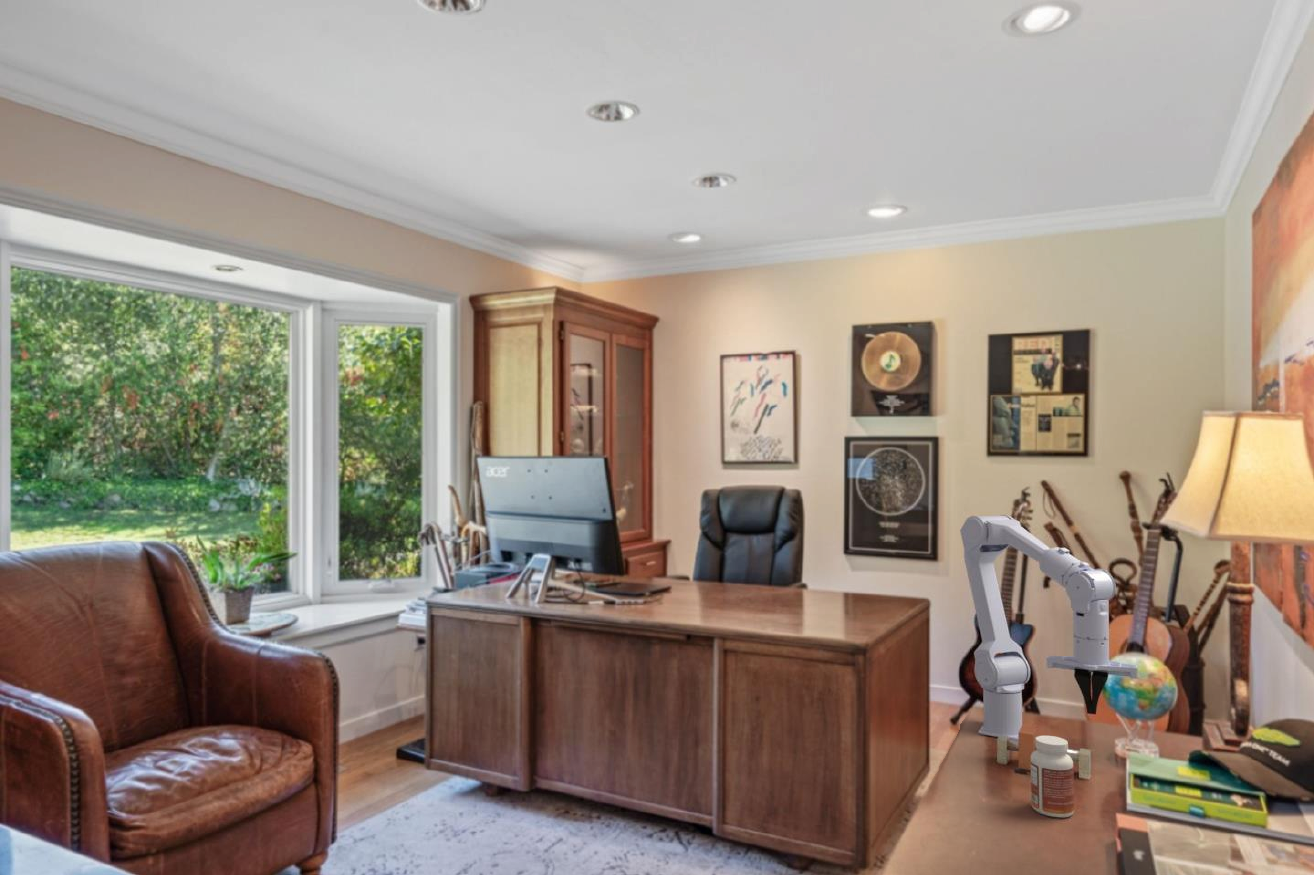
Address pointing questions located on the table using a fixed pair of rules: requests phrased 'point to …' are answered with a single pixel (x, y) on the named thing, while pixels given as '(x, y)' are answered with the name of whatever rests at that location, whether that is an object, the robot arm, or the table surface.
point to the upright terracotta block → (1026, 744)
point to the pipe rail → (1013, 745)
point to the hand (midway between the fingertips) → (1091, 712)
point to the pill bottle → (1052, 777)
